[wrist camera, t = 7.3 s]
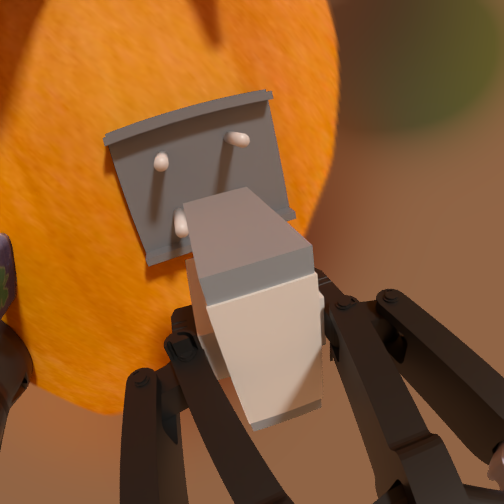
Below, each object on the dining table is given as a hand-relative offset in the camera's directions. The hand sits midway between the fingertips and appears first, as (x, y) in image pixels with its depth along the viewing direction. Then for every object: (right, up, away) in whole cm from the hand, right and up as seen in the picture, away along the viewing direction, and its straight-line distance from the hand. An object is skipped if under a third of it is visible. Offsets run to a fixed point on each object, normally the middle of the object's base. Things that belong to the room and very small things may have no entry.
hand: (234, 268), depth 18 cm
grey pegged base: (-4, +9, +12) cm, 16 cm away
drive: (0, 0, 0) cm, 0 cm away
